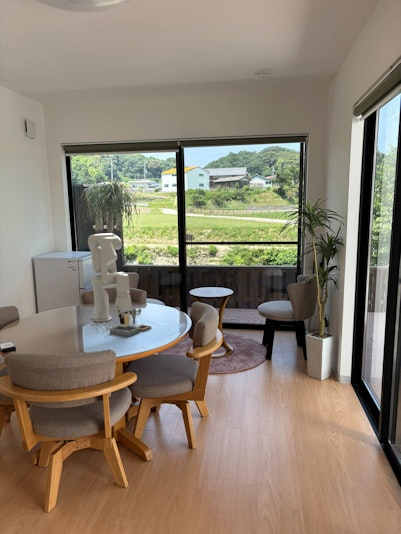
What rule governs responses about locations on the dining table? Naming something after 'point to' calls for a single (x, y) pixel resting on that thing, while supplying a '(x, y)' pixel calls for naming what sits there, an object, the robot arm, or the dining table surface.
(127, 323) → the block
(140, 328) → the brown flat square frame
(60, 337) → the dining table surface
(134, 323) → the mechanical component
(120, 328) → the parts tray
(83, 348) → the dining table surface
